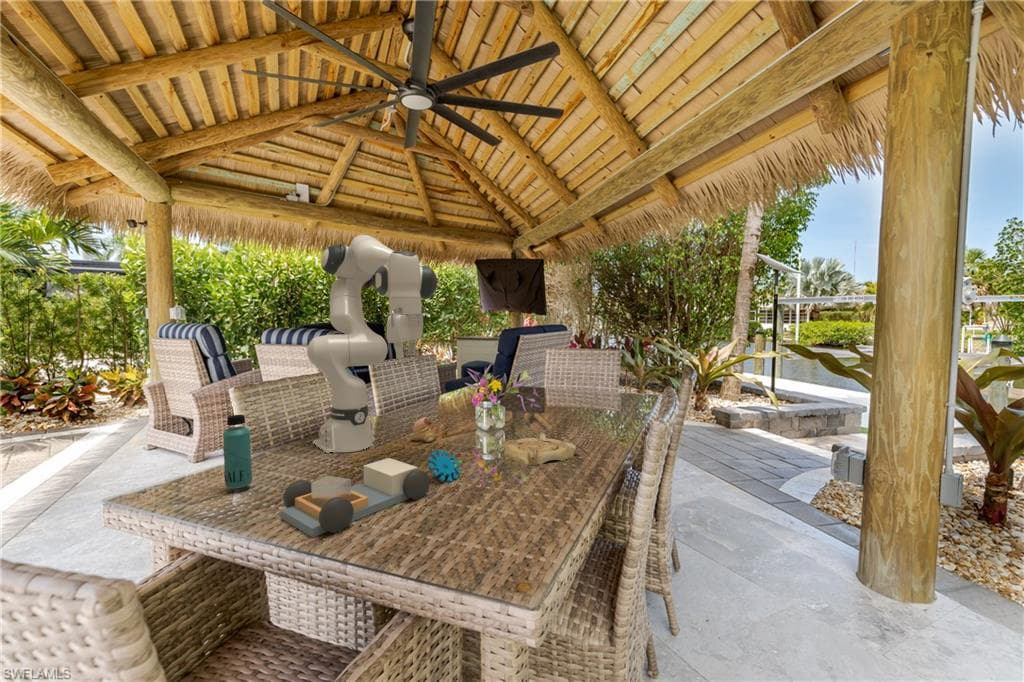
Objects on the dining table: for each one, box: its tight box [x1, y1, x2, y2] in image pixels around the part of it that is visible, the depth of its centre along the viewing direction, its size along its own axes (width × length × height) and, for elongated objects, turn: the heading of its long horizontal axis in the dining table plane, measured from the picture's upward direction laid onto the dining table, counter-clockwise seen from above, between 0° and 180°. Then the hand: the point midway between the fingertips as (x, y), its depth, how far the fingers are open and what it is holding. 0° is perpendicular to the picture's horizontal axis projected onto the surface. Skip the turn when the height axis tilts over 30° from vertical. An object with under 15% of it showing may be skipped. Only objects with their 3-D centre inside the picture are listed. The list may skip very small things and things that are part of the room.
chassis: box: [280, 456, 431, 539], centre depth 114 cm, size 18×32×7 cm, turn 141°
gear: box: [427, 449, 463, 483], centre depth 133 cm, size 11×6×10 cm
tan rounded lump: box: [408, 416, 437, 443], centre depth 168 cm, size 9×10×10 cm
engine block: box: [310, 475, 352, 509], centre depth 108 cm, size 7×5×6 cm
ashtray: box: [501, 432, 578, 466], centre depth 154 cm, size 24×24×5 cm
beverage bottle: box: [222, 414, 253, 489], centre depth 123 cm, size 6×7×20 cm
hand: (406, 356), depth 133 cm, fingers open, 8 cm apart
